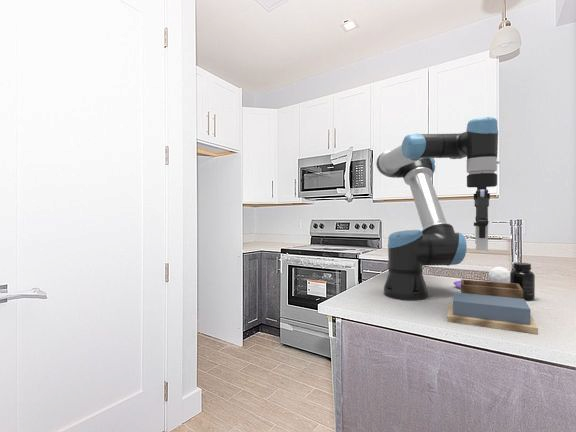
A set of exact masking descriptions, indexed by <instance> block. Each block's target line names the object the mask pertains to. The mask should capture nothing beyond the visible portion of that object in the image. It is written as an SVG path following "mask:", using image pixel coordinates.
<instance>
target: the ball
mask: <svg viewBox="0 0 576 432" xmlns="http://www.w3.org/2000/svg"><path fill="white" fill-rule="evenodd" d="M510 272H511V271H510V270H509V269H508V268H507V267H503V266H494V267H493V268H491V269H489V272H488V279H489V281H490V282H503V283H510Z"/></svg>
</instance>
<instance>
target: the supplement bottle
mask: <svg viewBox="0 0 576 432" xmlns="http://www.w3.org/2000/svg"><path fill="white" fill-rule="evenodd" d="M512 268H513V270H511V271H509V272H510V283H515V284H519V285H520V286H521V288H522V289H523V299H524V300H525V301H526V302H527V301H529V302H530V301H534V300H535V297H536V293H535V291H536V289H535V287H536V284H535V280H536V279H535V278H536V276H535V273H534V272H532V271H531V270H532V264H531V263H528V262H520V261H519V262H513V267H512Z"/></svg>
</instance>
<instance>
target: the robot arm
mask: <svg viewBox="0 0 576 432" xmlns="http://www.w3.org/2000/svg"><path fill="white" fill-rule="evenodd" d="M498 128H499V127H498V120H497V119H496V117H491V116H488V117H487V116H486V117H485V116H484V117H478V118H474V119H473V118H472V119H470V120H469V121H468V122H467V124H466V131H463V132H460V133H413V134H407V135H405V136H404V138H403V140H402V143H401V145H399V146H397V147H395V148H393V149H392V150H390V149H389V150H385V151H383V152H382V153H381V154H379V156H378V157H377V159H376V163H375V165H376V168H377V170H378V172H379V173H380V174H382V175H383V176H385V177H387V178H388V177H389V178H393V179H394V178H397V179H400V178H401V179H403V182H404V183H405V184H406V185H408V186H409V188H410V190H411V194H412V198H413V201H414V204H415V207H416V211H417V214H418V216H419V220H420V224H421V227H422V230H420V229H410V230H400V231H396V232H392V233H390V234H389V235H388V240H387V248H388V249H387V254H388V274H387V277H386V280H385V283H384V286H383V294H384V296H386V297H389V298H393V299H397V300H406V301H407V300H408V301H417V300H424V299H426V298H428V297H429V289H428V287H427V284H426V282H425V278H424V275H423V267H424V266H447V267H449V266H456V265H460V264H461V263H462V262H463V261H464V259H465V257H466V253H467V240H466V236H465V235H464V234H463V233H461V232H455V230H454V229H455V228H454V226H453V225H452V224H450V223H448V222H447V220H446V218H445V214H444V212H443V209H442V206H441V203H440V201H439V199H438V196H437V193H436V190H435V187H434V184H433V182H432V177H433V175H434V173H435V171H436V170H435V169H436V165H435V163H436V160H435V159H450V160H457V159H458V160H461V159H464V158H466V173H467V176H466V187H467V188H476V190H475V193H473V200H474V207H475V218H474V219H475V222H473V226H474V227H475V245H476V246H475V250H477V251H488V249H489V243H488V242H489V207H490V199H491V193H489V189H488V188H493V187H497V186H498V174H497V173H495V172H497V171H498V165H499V164H501V161H500V160H498V145H499V144H498V143H499V141H498V140H499V129H498Z"/></svg>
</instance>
